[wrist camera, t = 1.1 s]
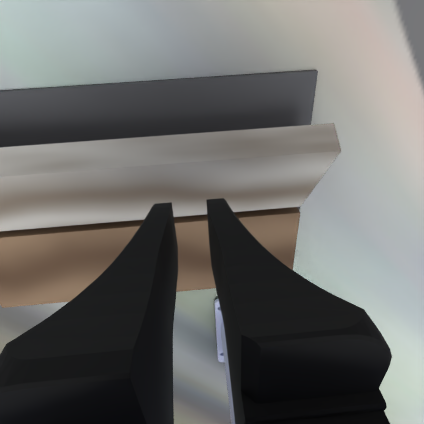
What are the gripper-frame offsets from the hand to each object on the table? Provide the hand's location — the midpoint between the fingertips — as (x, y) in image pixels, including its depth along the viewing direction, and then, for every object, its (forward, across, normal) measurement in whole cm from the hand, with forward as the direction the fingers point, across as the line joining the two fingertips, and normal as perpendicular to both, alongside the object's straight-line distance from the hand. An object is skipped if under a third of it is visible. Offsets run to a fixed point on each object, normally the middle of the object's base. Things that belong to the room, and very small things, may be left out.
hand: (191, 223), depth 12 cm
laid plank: (+9, +4, +9) cm, 13 cm away
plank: (+7, +4, +1) cm, 8 cm away
